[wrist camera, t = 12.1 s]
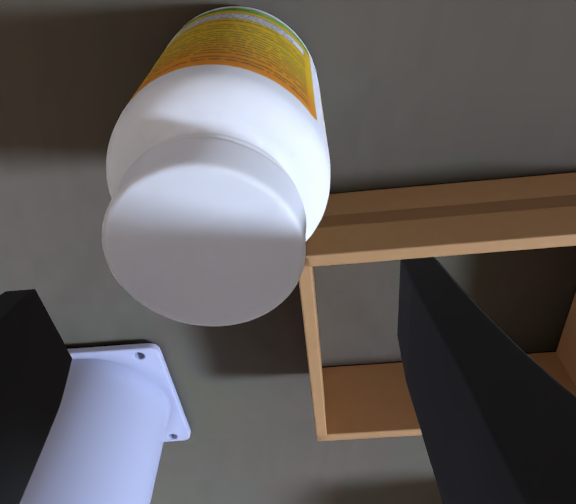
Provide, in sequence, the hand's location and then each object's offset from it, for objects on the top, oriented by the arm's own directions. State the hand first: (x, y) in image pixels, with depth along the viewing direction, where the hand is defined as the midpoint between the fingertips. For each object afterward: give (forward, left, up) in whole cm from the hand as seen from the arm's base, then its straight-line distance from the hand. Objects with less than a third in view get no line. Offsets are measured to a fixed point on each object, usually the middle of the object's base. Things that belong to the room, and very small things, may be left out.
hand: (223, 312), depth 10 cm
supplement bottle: (0, +1, -10) cm, 10 cm away
